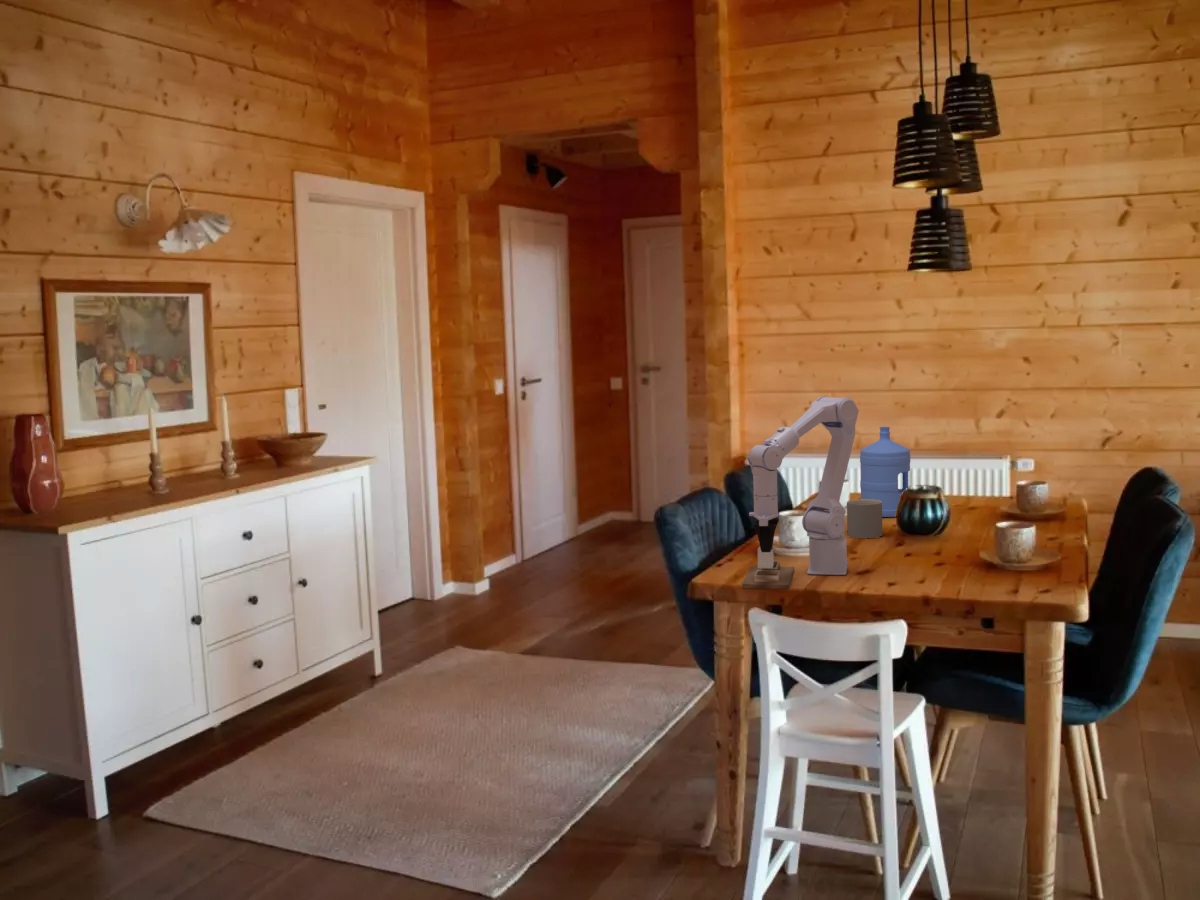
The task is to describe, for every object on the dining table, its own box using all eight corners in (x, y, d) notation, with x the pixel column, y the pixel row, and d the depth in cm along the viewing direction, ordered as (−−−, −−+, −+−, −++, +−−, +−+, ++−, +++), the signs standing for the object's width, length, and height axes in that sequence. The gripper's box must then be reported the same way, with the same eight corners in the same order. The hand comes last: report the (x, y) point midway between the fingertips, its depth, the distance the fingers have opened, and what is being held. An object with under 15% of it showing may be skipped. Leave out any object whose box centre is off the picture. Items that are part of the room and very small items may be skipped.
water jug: (865, 519, 358) (864, 430, 355) (856, 510, 373) (855, 425, 370) (916, 517, 357) (915, 428, 354) (904, 509, 373) (903, 424, 370)
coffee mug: (879, 539, 325) (878, 505, 324) (844, 538, 329) (843, 504, 328) (887, 531, 337) (886, 497, 336) (853, 529, 341) (852, 496, 340)
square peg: (773, 565, 278) (773, 546, 277) (772, 568, 274) (772, 549, 274) (759, 564, 279) (759, 546, 278) (757, 567, 275) (757, 549, 275)
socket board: (794, 570, 290) (794, 560, 289) (788, 589, 270) (788, 578, 270) (750, 569, 292) (750, 560, 292) (742, 588, 273) (742, 577, 273)
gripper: (751, 490, 282) (753, 544, 284) (745, 499, 268) (747, 556, 270) (780, 490, 281) (781, 544, 282) (775, 499, 267) (777, 556, 268)
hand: (766, 550), depth 276 cm, fingers closed on square peg, 3 cm apart
